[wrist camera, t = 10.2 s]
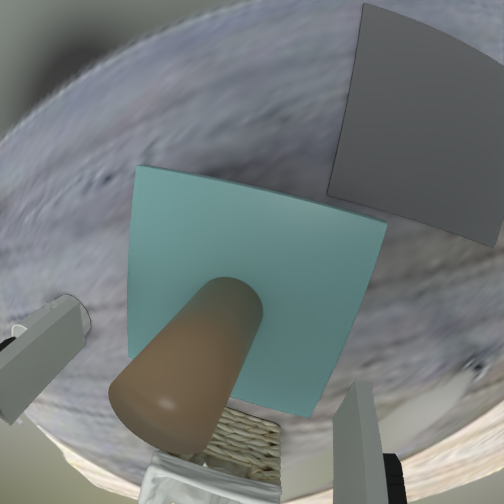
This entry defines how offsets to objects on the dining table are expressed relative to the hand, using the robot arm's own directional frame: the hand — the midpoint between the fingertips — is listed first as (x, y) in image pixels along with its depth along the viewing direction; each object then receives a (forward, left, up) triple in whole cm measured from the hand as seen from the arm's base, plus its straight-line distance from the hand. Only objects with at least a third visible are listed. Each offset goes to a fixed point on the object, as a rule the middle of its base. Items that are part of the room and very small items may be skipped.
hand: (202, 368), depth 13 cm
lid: (0, 0, -6) cm, 6 cm away
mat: (-15, -16, -18) cm, 28 cm away
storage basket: (0, +35, -19) cm, 39 cm away
